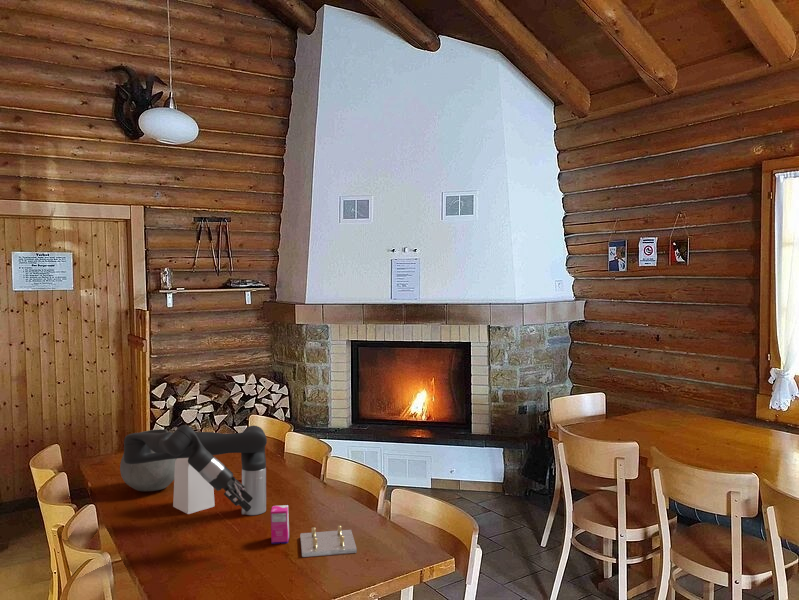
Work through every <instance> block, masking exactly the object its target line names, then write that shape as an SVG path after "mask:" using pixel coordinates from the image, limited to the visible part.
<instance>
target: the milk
mask: <svg viewBox="0 0 799 600" xmlns="http://www.w3.org/2000/svg"><path fill="white" fill-rule="evenodd" d="M214 491H215V488H214V487H213V486H211V485H210V484H209V483H208V482H207V481H206V480H205V479H204V478H203V477H202V476H201V475H200V474H199V472H197V471H196V470H195V469H194V468H193V467H192V466H191V465H190V464H189V463H188V458H178V459H176V461H175V476H174V480H173V500H172V501H173V503H172V507H173V508H175V509H177V510H179V511H181V512H183V513H185V514H187V515H190V514H193V513H196V512H199V511H200V512H202V511H203V510H207V509H210V508H213V507H214V508H215V505H216V504H215V503H216V502H215V494H214V493H215V492H214Z"/></svg>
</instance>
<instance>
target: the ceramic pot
mask: <svg viewBox="0 0 799 600" xmlns="http://www.w3.org/2000/svg"><path fill="white" fill-rule="evenodd" d="M165 432H169V431H168V430H167V429H165V428H164V429H161V428H160V429H151V430H146V431H145V430H144V431H140V432H139V433H165ZM151 453H155V452H153V451H152V450H151ZM175 461H176V459H167V460H160V461H153V462H146V463H139V464H127V463H125V462H124V453H123V454H122V457H121V459H120V465H119V472H120V476H121V478H122V480H123V482H124V483H125V484H126V485H127V486H129V487H130V488H132V489H133V490H135V491H138V492H155V491H160V490H164V489H166V488H167V487H168V486H169V485H171V484H172V483H173V482H174V476H175Z"/></svg>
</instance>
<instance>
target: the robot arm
mask: <svg viewBox="0 0 799 600" xmlns="http://www.w3.org/2000/svg"><path fill="white" fill-rule="evenodd" d="M267 438H268V437H267V436H266V434H265V432H264V430H263V428H262V427H260V426H258V425H249V426H247V427H246V428H245V429H244V430H243V431H242V432H237V433H236V432H235V433H223V432H222V433H221V432H213V431H199V432H195V430H194V429H193V428H192V427H190V426H188V425H185V424H183V425H180V426H178V427H177V429H175V430H174V431H173V432H172V431H168V432H165V433H140V432H134V433H128V434H127V435H125V437H124V439H123V454H124V462H125V463H127V464H139V463H146V462H153V461H160V460H167V459H178V458H188V463H189V464H190V465H191V466H192V467H193V468H194V469H195V470H196V471H197V472H199V474H200V475H201V476H202V477H203V478H204V479H205V480H206V481H207V482H208V483H209V484H210V485H211V486H213V487H214V490H216V491H217V492H219V491H221V490H222V489H223V490H224V491H225V492H223V496H225V497H226V498H227V499H228V500H229V501H230V502H231V503H232V504H233V505H234V506H236V507H237V506H240V507H241V515H246V516H257V515H261V514H264V513H265V512H266V511H267V460H266V458H267V457H266V445H267V442H268V439H267ZM151 450H152V451H153V452H155V453H151ZM224 454H225V455H226V454H241V455H240V457H241V459H240V460H241V481H239V480H237V478H235V476H234V472H232V470H230V468H229V467H227V466H226V465H225V464H224V463H223V462H221V461H220V460H219V459H218V458H217V457H216V456H220V455H224Z"/></svg>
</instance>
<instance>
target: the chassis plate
mask: <svg viewBox="0 0 799 600" xmlns="http://www.w3.org/2000/svg"><path fill="white" fill-rule="evenodd" d="M342 528H343V527H342V525H340V524H338V525H337V530H328V531H327V530H326V531H316V529H317V527H315V526H313V527H311V532H301V533H300V535H299V536H300V538H299V539H300V548H301V558H310V557H321V556H333V555H334V556H336V555H346V554H348V555H349V554H357V552H358V551H357V549H358V548H357V544H356V542H355V538H354V535H353V532H352V529H342Z"/></svg>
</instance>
